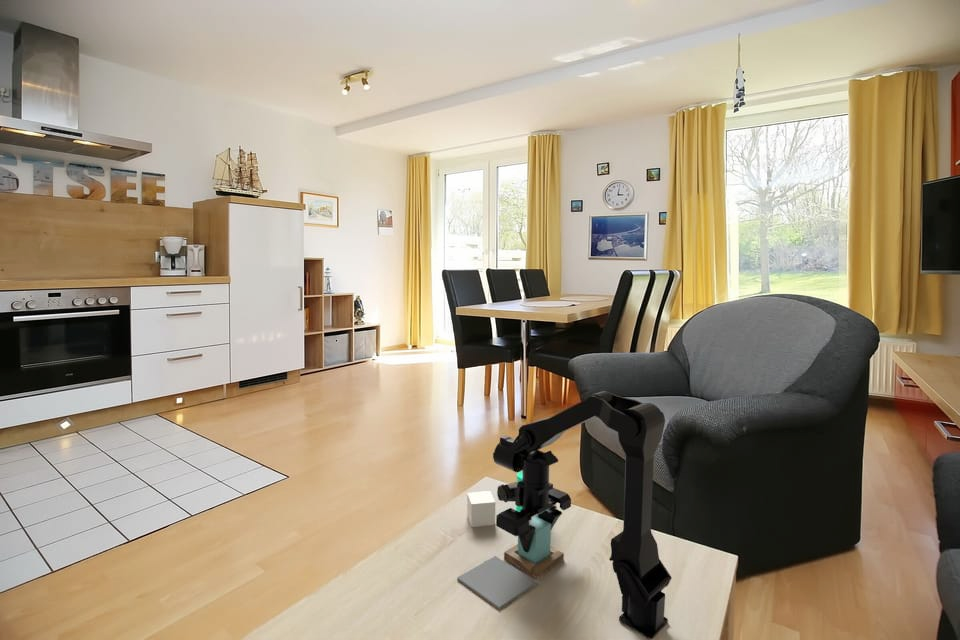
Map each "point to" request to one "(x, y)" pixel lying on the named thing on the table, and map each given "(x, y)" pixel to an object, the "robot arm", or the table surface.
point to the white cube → (481, 508)
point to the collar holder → (531, 567)
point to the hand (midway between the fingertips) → (534, 546)
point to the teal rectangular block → (538, 542)
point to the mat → (497, 582)
